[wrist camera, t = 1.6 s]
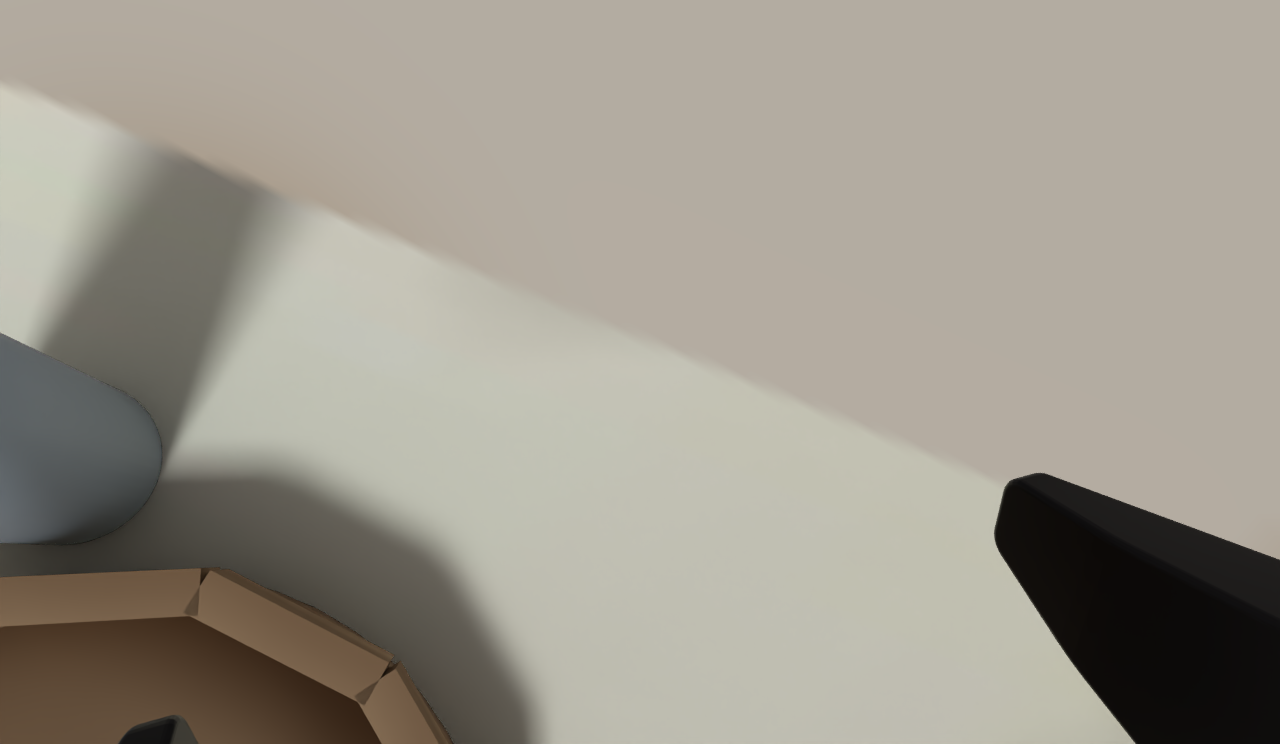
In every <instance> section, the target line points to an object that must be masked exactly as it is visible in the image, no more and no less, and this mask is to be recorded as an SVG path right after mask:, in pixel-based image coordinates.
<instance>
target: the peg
mask: <svg viewBox="0 0 1280 744" xmlns="http://www.w3.org/2000/svg"><path fill="white" fill-rule="evenodd" d="M161 463H162V447H161V440H160V436H159V433H158V430H157V427H156V425H155V423H154V421H153V419H152V418H151V416H150V415H149V413H148V412H147V411H146V410H145V409H144V408H143V407H142V405H141V404H139V403H138V402H137V401H136V400H135V399H133V398H132V397H130V396H129V395H127V394H126V393H124V392H122V391H120V390H118V389H116V388H114V387H112V386H110V385H108V384H106V383H103V382H101V381H99V380H97V379H95V378H93V377H91V376H89V375H87V374H85V373H83V372H81V371H79V370H77V369H74V368H72V367H70V366H68V365H66V364H64V363H62V362H60V361H58V360H56V359H54V358H52V357H50V356H48V355H45V354H43V353H41V352H39V351H37V350H35V349H33V348H31V347H29V346H27V345H25V344H23V343H21V342H19V341H17V340H14V339H12V338H10V337H8V336H6V335H4V334H2V333H0V543H18V544H51V545H67V544H77V543H82V542H86V541H90V540H93V539H96V538H99V537H101V536H104V535H106V534H108V533H110V532H112V531H114V530H115V529H117V528H118V527H120V526H122V525H123V524H124V523H126V522H127V521H128V520H129V519H131V518H132V517H133V516H134V515H135V514H136V513H137V512H138V511H139V510H140V509H141V507H142V506H143V505H144V504H145V502H146V501H147V500H148V498H149V496H150V495H151V493H152V491H153V489H154V487H155V485H156V483H157V480H158V477H159V473H160V469H161Z"/></svg>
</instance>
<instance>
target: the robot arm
mask: <svg viewBox="0 0 1280 744" xmlns="http://www.w3.org/2000/svg"><path fill="white" fill-rule="evenodd" d="M994 538H995V542H996V546H997V548H998V550H999V552H1000V554H1001V556H1002V557H1003V559H1004V560H1005V562H1006V563H1007V565H1008V566H1009V568H1010V569H1011V571H1012V573H1013V574H1014V576H1015V577H1016V579H1017V580H1018V582H1019V583H1020V585H1021V586H1022V588H1023V589H1024V591H1025V592H1026V594H1027V596H1028V597H1029V599H1030V600H1031V602H1032V603H1033V605H1034V606H1035V608H1036V609H1037V611H1038V612H1039V614H1040V616H1041V617H1042V619H1043V620H1044V622H1045V623H1046V625H1047V626H1048V628H1049V629H1050V631H1051V632H1052V634H1053V636H1054V637H1055V639H1056V640H1057V642H1058V643H1059V645H1060V646H1061V648H1062V649H1063V650H1064V652H1065V653H1066V655H1067V656H1068V658H1069V659H1070V661H1071V662H1072V663H1073V665H1074V666H1075V667H1076V669H1077V670H1078V671H1079V673H1080V674H1081V675H1082V677H1083V678H1084V679H1085V680H1086V682H1087V683H1088V684H1089V685H1090V687H1091V688H1092V689H1093V691H1094V692H1095V693H1096V694H1097V696H1098V697H1099V698H1100V699H1101V701H1102V702H1103V703H1104V704H1105V706H1106V707H1107V708H1108V709H1109V711H1110V712H1111V713H1112V714H1113V716H1114V717H1115V718H1116V720H1117V721H1118V722H1119V723H1120V725H1121V726H1122V727H1123V728H1124V730H1125V731H1126V732H1127V733H1128V735H1129V736H1130V737H1131V738H1132V740H1133V741H1134V742H1135V743H1136V744H1280V560H1279V559H1276V558H1273V557H1271V556H1268V555H1265V554H1262V553H1260V552H1257V551H1254V550H1252V549H1249V548H1246V547H1243V546H1240V545H1238V544H1235V543H1233V542H1230V541H1227V540H1224V539H1222V538H1219V537H1216V536H1214V535H1211V534H1208V533H1205V532H1203V531H1200V530H1197V529H1195V528H1192V527H1189V526H1186V525H1183V524H1181V523H1178V522H1176V521H1173V520H1170V519H1167V518H1165V517H1162V516H1159V515H1156V514H1154V513H1151V512H1148V511H1146V510H1143V509H1140V508H1138V507H1135V506H1132V505H1129V504H1127V503H1124V502H1121V501H1119V500H1116V499H1113V498H1110V497H1108V496H1105V495H1102V494H1099V493H1097V492H1094V491H1091V490H1089V489H1086V488H1083V487H1080V486H1078V485H1075V484H1072V483H1070V482H1067V481H1064V480H1062V479H1059V478H1056V477H1053V476H1050V475H1048V474H1044V473H1034V474H1031V475H1027V476H1023V477H1020V478H1016V479H1013V480H1011V481H1009V483H1008V484H1007V485H1006V486H1005V489H1004V492H1003V496H1002V500H1001V504H1000V508H999V513H998V517H997V521H996V525H995V530H994ZM118 744H198V742H197V740H196V738H195V736H194V734H193V732H192V730H191V728H190V727H189V725H188V723H187V721H186V720H185V719H184V718H183V717H182V716H180V715H170V716H166V717H163V718H159V719H156V720H152V721H148V722H145V723H141V724H138V725H136V726H134V727H132V728H131V729H129V730H128V731H127V732H126V733H125V734H124V735H123V737H122V738H121V739H120V741H119V742H118Z"/></svg>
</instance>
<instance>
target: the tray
mask: <svg viewBox="0 0 1280 744" xmlns="http://www.w3.org/2000/svg"><path fill="white" fill-rule="evenodd" d="M393 657H394V655H393V654H391V653H390V652H388V651H386V650H384V649H382V648H380V647H378V646H376V645H374V644H372V643H370V642H368V641H366V640H365V639H364V638H363V637H362V636H360V635H359V634H358V633H356V632H355V631H353V630H351V629H350V628H348V627H347V626H345V625H343V624H342V623H340V622H338V621H337V620H335V619H333V618H332V617H330V616H329V615H327V614H325V613H324V612H322V611H320V610H319V609H316V608H314V607H312V606H309V605H307V604H305V603H302V602H300V601H298V600H295V599H293V598H291V597H289V596H286V595H284V594H282V593H279V592H277V591H273V590H270V589H266V588H264V587H262V586H260V585H258V584H257V583H255V582H253V581H251V580H249V579H247V578H245V577H243V576H241V575H239V574H237V573H235V572H233V571H231V570H230V569H223V570H220V567H215V568H193V569H171V570H149V571H127V572H105V573H83V574H61V575H38V576H16V577H0V744H118V742H119V741H120V739H121V738H122V737H123V735H124V734H125V733H126V732H127V731H128V730H129V729H131V728H132V727H134V726H136V725H138V724H141V723H145V722H148V721H152V720H156V719H159V718H163V717H166V716H170V715H180V716H182V717H183V718H184V719H185V720H186V721H187V723H188V725H189V727H190V728H191V730H192V732H193V734H194V736H195V738H196V740H197V742H198V744H453V742H452V740H451V738H450V736H449V734H448V732H447V731H446V729H445V728H444V726H443V725H442V723H441V722H440V720H439V719H438V717H437V716H436V714H435V713H434V712H433V710H432V709H431V707H430V706H429V704H428V703H427V701H426V700H425V698H424V697H423V695H422V694H421V693H420V692H419V691H418V690H417V688H416V687H415V685H414V683H413V682H412V680H411V678H410V676H409V675H408V673H407V671H406V669H405V668H404V666H403V664H402V663H401V661H399V662H398V663H396V664H394V663H393V662H392V661H391V660H392V658H393Z"/></svg>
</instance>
